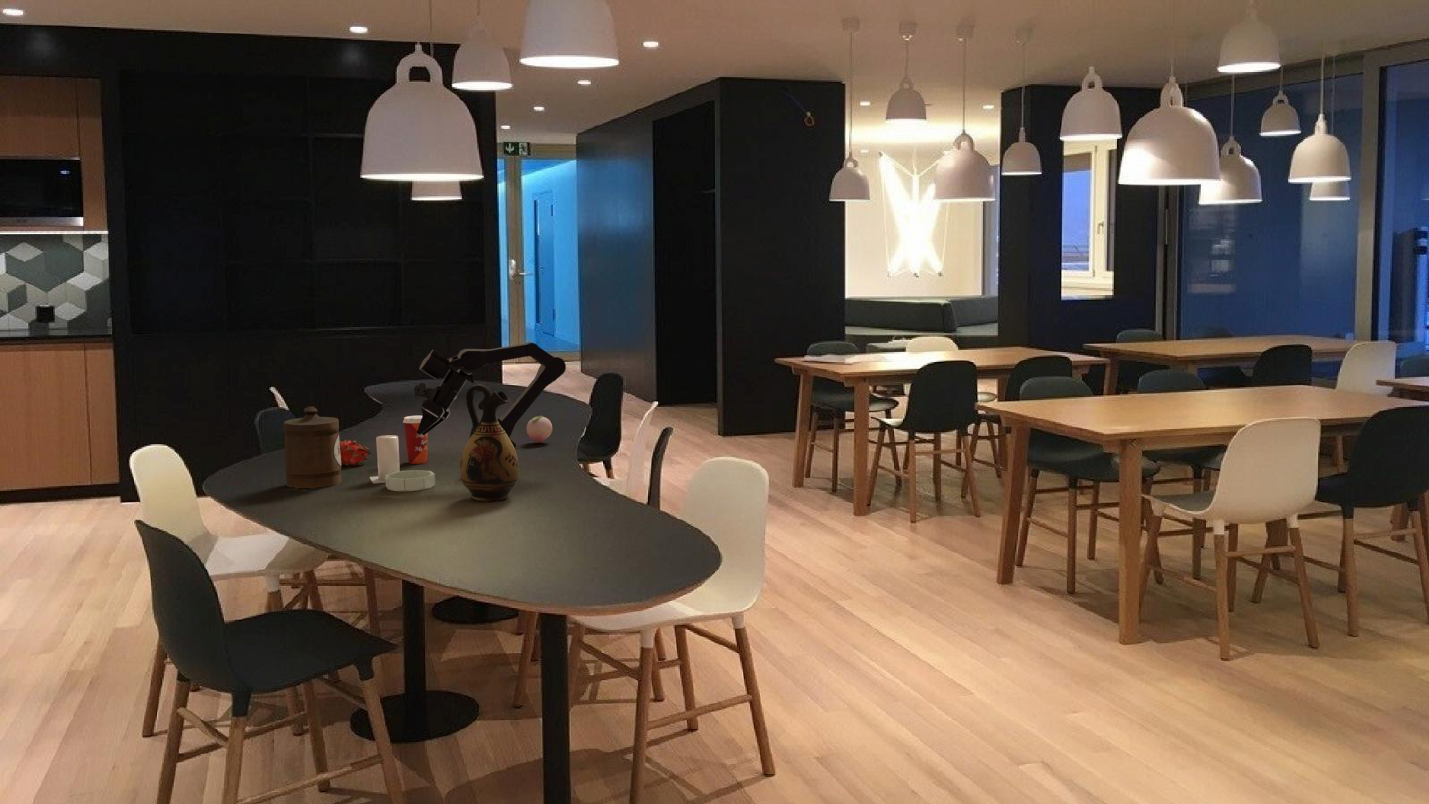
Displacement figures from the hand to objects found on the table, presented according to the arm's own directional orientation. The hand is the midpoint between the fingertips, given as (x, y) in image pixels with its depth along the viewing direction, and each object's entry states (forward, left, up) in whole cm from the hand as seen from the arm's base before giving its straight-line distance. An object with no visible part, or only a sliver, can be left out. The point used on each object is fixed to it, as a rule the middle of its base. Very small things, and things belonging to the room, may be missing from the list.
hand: (420, 434), depth 357 cm
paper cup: (+15, -20, -13) cm, 28 cm away
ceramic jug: (-34, +19, -13) cm, 41 cm away
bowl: (-6, +14, -12) cm, 20 cm away
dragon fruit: (+32, -10, -13) cm, 36 cm away
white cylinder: (+7, +6, -12) cm, 15 cm away
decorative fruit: (-4, -62, -13) cm, 63 cm away
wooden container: (+23, +18, -13) cm, 32 cm away
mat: (+7, +6, -12) cm, 15 cm away
